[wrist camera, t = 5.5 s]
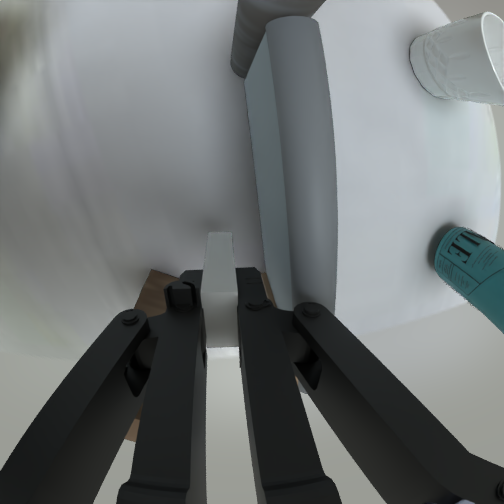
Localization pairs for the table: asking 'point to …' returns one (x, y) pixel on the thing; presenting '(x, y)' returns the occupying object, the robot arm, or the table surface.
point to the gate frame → (243, 52)
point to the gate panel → (269, 175)
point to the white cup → (463, 60)
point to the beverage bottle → (473, 271)
